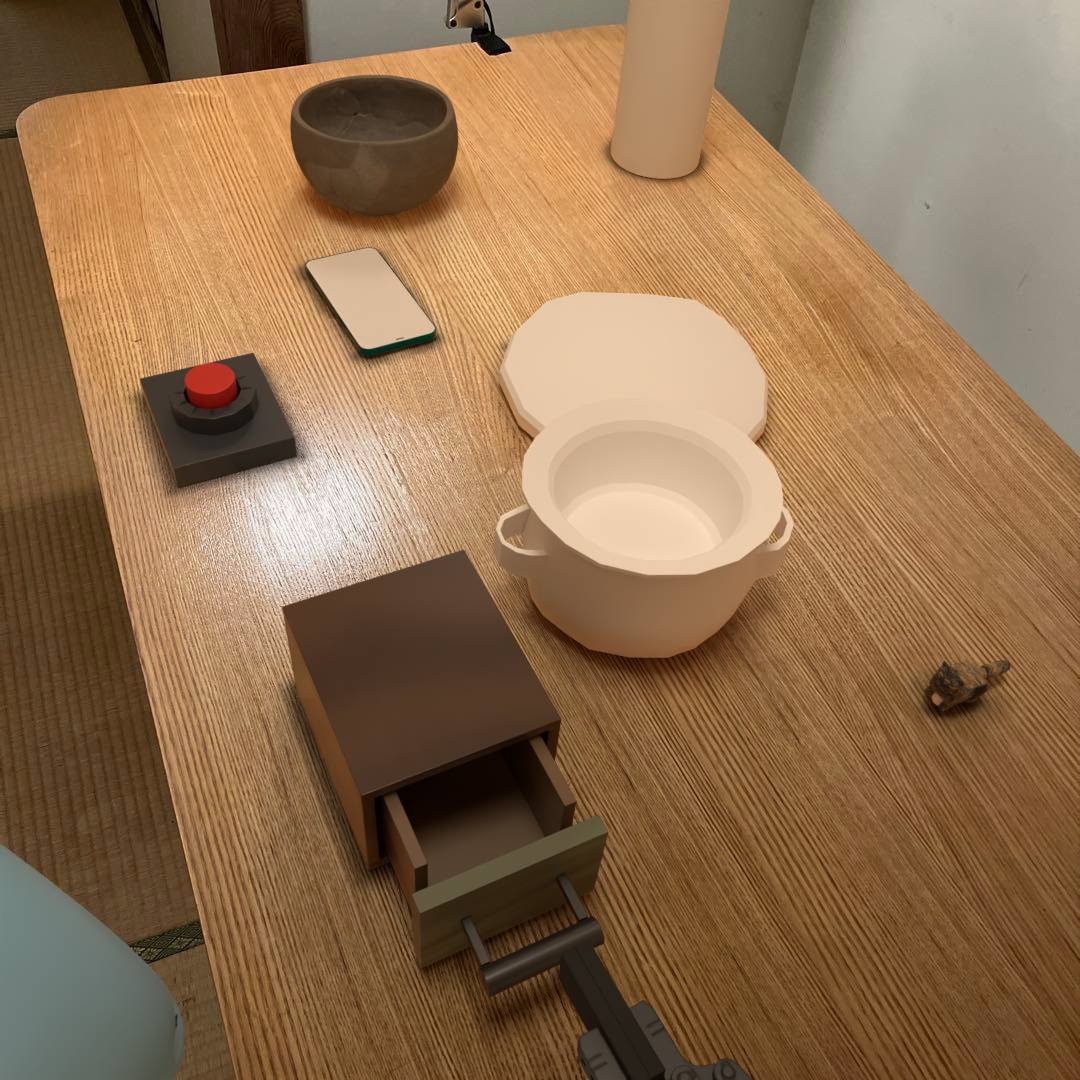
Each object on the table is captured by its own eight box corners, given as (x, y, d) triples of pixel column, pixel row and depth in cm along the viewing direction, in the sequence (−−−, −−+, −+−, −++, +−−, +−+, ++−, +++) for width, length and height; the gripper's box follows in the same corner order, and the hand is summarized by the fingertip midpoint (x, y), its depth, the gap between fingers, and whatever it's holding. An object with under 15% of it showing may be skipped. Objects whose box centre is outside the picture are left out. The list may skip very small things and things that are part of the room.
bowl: (334, 141, 126) (327, 56, 119) (478, 172, 124) (480, 86, 117) (270, 215, 115) (258, 126, 108) (427, 250, 113) (427, 161, 105)
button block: (177, 488, 87) (168, 452, 85) (144, 397, 94) (134, 361, 91) (297, 456, 91) (292, 420, 88) (256, 371, 98) (250, 335, 95)
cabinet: (549, 797, 71) (561, 718, 64) (368, 872, 67) (360, 796, 60) (461, 634, 80) (464, 549, 72) (296, 691, 75) (281, 606, 68)
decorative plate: (501, 268, 104) (753, 280, 106) (499, 303, 107) (744, 315, 109) (499, 444, 88) (798, 456, 89) (497, 480, 91) (786, 491, 92)
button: (195, 414, 88) (191, 398, 87) (182, 385, 90) (179, 369, 89) (243, 403, 90) (240, 386, 88) (230, 374, 92) (227, 358, 91)
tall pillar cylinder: (716, 157, 130) (762, -67, 112) (664, 189, 124) (704, -43, 106) (645, 125, 134) (679, -97, 116) (592, 154, 129) (618, -74, 110)
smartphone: (302, 269, 109) (362, 360, 100) (301, 261, 108) (361, 351, 99) (375, 253, 112) (440, 339, 103) (375, 245, 111) (440, 331, 102)
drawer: (628, 955, 64) (648, 900, 58) (451, 1041, 60) (452, 991, 54) (502, 718, 74) (507, 651, 68) (343, 778, 70) (334, 713, 64)
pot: (737, 503, 91) (771, 392, 82) (798, 672, 79) (845, 564, 70) (478, 517, 88) (483, 403, 79) (503, 695, 76) (512, 586, 67)
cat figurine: (903, 695, 78) (930, 659, 76) (976, 672, 82) (1004, 638, 79) (928, 725, 77) (957, 690, 74) (1001, 700, 80) (1031, 666, 78)
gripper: (746, 1694, 37) (449, 1055, 51) (1018, 1455, 42) (677, 931, 56) (791, 1710, 31) (445, 992, 46) (1097, 1433, 36) (698, 860, 50)
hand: (573, 959), depth 51 cm, fingers closed
